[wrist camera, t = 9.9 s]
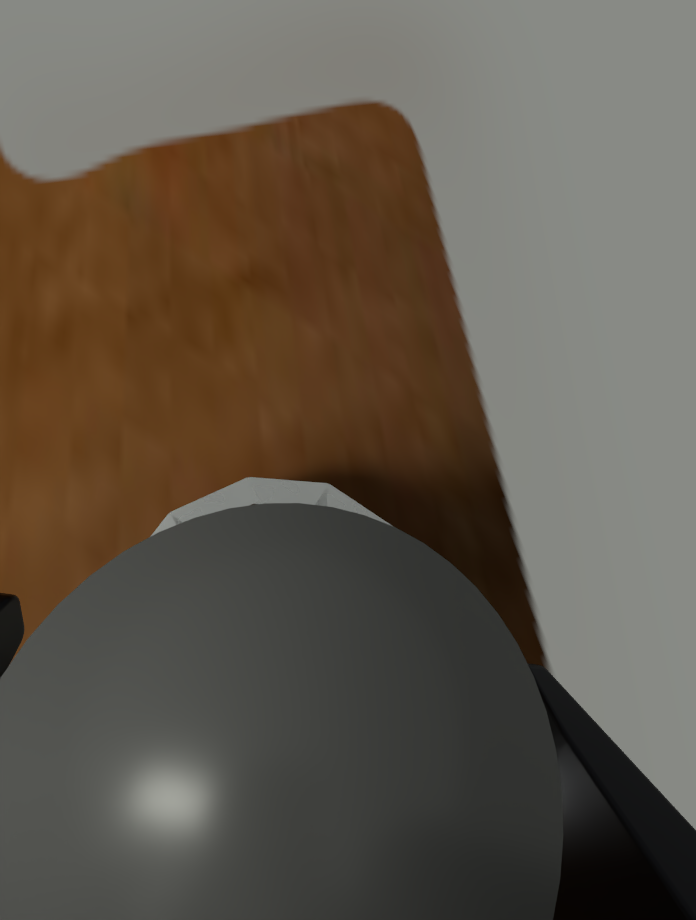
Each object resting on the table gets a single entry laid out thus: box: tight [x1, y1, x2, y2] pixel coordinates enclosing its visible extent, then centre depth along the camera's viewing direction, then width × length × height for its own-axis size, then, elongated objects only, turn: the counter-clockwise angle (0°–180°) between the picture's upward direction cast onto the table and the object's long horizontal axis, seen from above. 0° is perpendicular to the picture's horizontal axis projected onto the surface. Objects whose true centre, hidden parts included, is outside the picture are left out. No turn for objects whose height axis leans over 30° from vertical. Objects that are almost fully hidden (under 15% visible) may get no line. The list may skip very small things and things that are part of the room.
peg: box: [0, 503, 563, 920], centre depth 10 cm, size 4×4×13 cm
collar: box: [151, 477, 392, 536], centre depth 14 cm, size 9×9×3 cm
